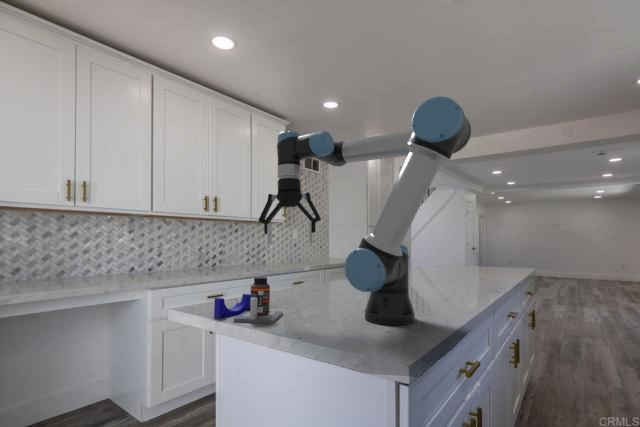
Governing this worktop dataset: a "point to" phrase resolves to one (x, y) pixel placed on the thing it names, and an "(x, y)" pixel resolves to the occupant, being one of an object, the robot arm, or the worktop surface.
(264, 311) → the supplement bottle
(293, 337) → the worktop surface
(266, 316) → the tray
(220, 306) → the cable clip
